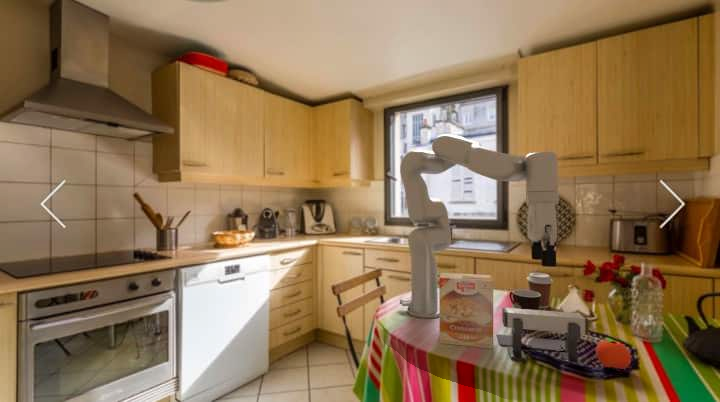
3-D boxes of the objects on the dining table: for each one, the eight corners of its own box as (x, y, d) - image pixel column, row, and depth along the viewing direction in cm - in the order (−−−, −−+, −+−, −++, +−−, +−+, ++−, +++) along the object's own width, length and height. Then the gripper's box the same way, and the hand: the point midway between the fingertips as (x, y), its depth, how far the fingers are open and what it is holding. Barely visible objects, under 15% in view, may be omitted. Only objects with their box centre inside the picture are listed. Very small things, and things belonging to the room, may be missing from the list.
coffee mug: (544, 328, 106) (544, 297, 106) (516, 326, 107) (516, 296, 107) (533, 315, 117) (533, 287, 117) (507, 314, 119) (507, 286, 119)
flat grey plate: (499, 345, 94) (499, 344, 94) (496, 335, 101) (496, 334, 101) (579, 353, 89) (579, 352, 89) (570, 342, 95) (570, 341, 95)
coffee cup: (530, 308, 125) (529, 277, 125) (524, 300, 134) (523, 271, 134) (556, 310, 123) (556, 278, 123) (548, 302, 132) (548, 272, 131)
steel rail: (504, 327, 87) (504, 312, 87) (502, 321, 91) (502, 307, 91) (588, 334, 82) (588, 319, 82) (582, 328, 86) (582, 313, 86)
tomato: (585, 360, 85) (585, 333, 85) (610, 359, 86) (610, 332, 86) (611, 377, 77) (611, 347, 77) (639, 375, 78) (639, 345, 78)
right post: (567, 366, 82) (567, 325, 82) (559, 354, 88) (559, 316, 88) (584, 368, 81) (584, 326, 81) (574, 355, 88) (574, 317, 87)
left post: (511, 360, 86) (511, 320, 85) (507, 348, 92) (507, 312, 92) (526, 361, 85) (526, 321, 85) (521, 350, 91) (521, 313, 91)
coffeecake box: (439, 343, 96) (438, 277, 95) (439, 333, 103) (439, 271, 102) (494, 349, 92) (493, 280, 91) (491, 338, 99) (490, 274, 98)
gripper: (519, 199, 97) (520, 257, 96) (535, 198, 80) (536, 269, 80) (547, 198, 95) (548, 257, 95) (569, 198, 78) (571, 270, 78)
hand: (543, 262), depth 87 cm, fingers open, 9 cm apart
